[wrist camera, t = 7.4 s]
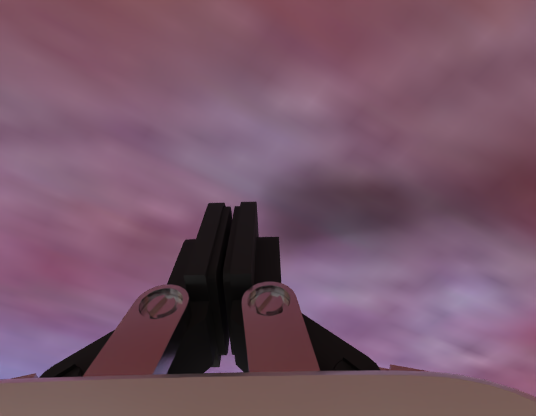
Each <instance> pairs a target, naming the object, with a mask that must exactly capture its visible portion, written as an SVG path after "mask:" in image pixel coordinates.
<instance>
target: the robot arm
mask: <svg viewBox="0 0 536 416" xmlns="http://www.w3.org/2000/svg"><path fill="white" fill-rule="evenodd" d="M229 338H230V342H231V350H232V355H235V361H236V365H237V366H238V367H239V368H240V369H241V370H242V371H243V372H240V373H204V372H205V371H207V370H208V369H209V368H210V367H220V360H221V355H227V353H228V346H229ZM0 416H536V397H534V396H532V395H530V394H527V393H524V392H522V391H519V390H517V389H514V388H511V387H507V386H504V385H500V384H497V383H494V382H491V381H487V380H483V379H478V378H473V377H468V376H463V375H458V374H450V373H440V372H430V371H424V370H418V369H413V368H407V367H401V366H396V365H390V368H389V369H386V368H380V367H378V366H377V364H376V363H375V362H374V361H372V360H371V359H370V358H369V357H368V356H366V355H365V354H363V353H362V352H360V351H358V350H357V349H355V348H354V347H352V346H351V345H349V344H348V343H346V342H345V341H343V340H342V339H340V338H339V337H337V336H336V335H334V334H333V333H331V332H329V331H328V330H326V329H325V328H323V327H322V326H320V325H319V324H317V323H316V322H314V321H313V320H311V319H310V318H308V317H307V316H305V315H304V314H302V313H301V310H300V307H299V304H298V301H297V298H296V295H295V293H294V292H293V290H292V289H290V288H289V287H288V286H286V285H284V284H282V283H281V269H280V251H279V237H259V235H258V218H257V203H256V202H241V204H240V206H235V208H234V214H233V219H232V213H231V207H225V203H209V204H208V206H207V209H206V212H205V215H204V218H203V220H202V223H201V226H200V229H199V232H198V235H197V238H196V239H190V240H185V241H184V243H183V246H182V248H181V251H180V253H179V256H178V258H177V261H176V263H175V266H174V268H173V271H172V273H171V276H170V278H169V281H168V283H167V285H161V286H157V287H154V288H152V289H149V290H147V291H146V292H144V293H143V294H141V295H140V296H139V297H138V298H137V300H136V301H135V302H134V304H133V305H132V306H131V308H130V309H129V311H128V312H127V314H126V315H125V316H124V318H123V319H122V321H121V322H120V324H119V325H118V326H117V328H116V329H115V330H114V331H112V332H110V333H109V334H107V335H105V336H103V337H102V338H100V339H98V340H97V341H95V342H93V343H91V344H90V345H88V346H86V347H85V348H83V349H81V350H79V351H78V352H76V353H74V354H73V355H71V356H69V357H67V358H66V359H64V360H62V361H61V362H59V363H57V364H55V365H54V366H53V367H51V368H50V369H48V370H47V371H45V372H44V373H43V374H42V375H41V376H40V377H39V378H38V377H37V375H36V373H35V374H30V375H26V376H21V377H17V378H12V379H0Z"/></svg>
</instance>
